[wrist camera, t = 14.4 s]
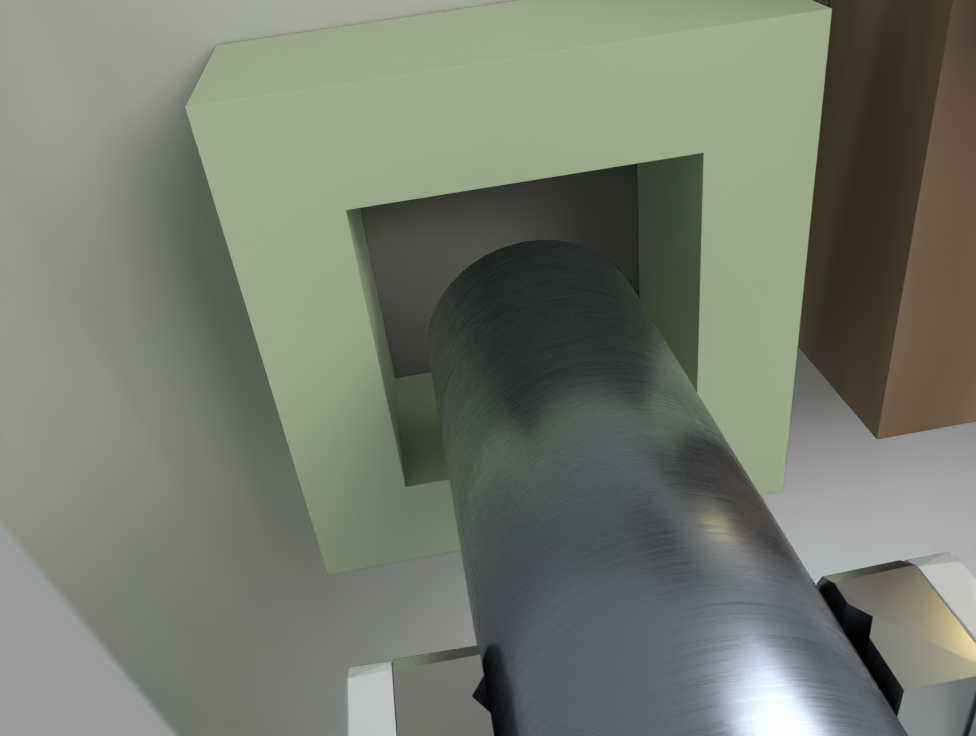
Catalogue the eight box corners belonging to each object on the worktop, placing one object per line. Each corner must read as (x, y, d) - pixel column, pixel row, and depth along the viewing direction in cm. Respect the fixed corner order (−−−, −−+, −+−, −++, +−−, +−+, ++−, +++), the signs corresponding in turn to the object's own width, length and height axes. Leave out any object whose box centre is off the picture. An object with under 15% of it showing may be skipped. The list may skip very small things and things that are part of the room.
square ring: (735, -33, 17) (831, 8, 14) (717, 389, 22) (783, 491, 19) (216, 44, 16) (185, 106, 13) (329, 457, 22) (327, 574, 18)
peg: (638, 222, 15) (1221, 1024, 5) (642, 407, 17) (1055, 1219, 7) (411, 260, 15) (562, 1176, 5) (443, 442, 17) (594, 1333, 7)
